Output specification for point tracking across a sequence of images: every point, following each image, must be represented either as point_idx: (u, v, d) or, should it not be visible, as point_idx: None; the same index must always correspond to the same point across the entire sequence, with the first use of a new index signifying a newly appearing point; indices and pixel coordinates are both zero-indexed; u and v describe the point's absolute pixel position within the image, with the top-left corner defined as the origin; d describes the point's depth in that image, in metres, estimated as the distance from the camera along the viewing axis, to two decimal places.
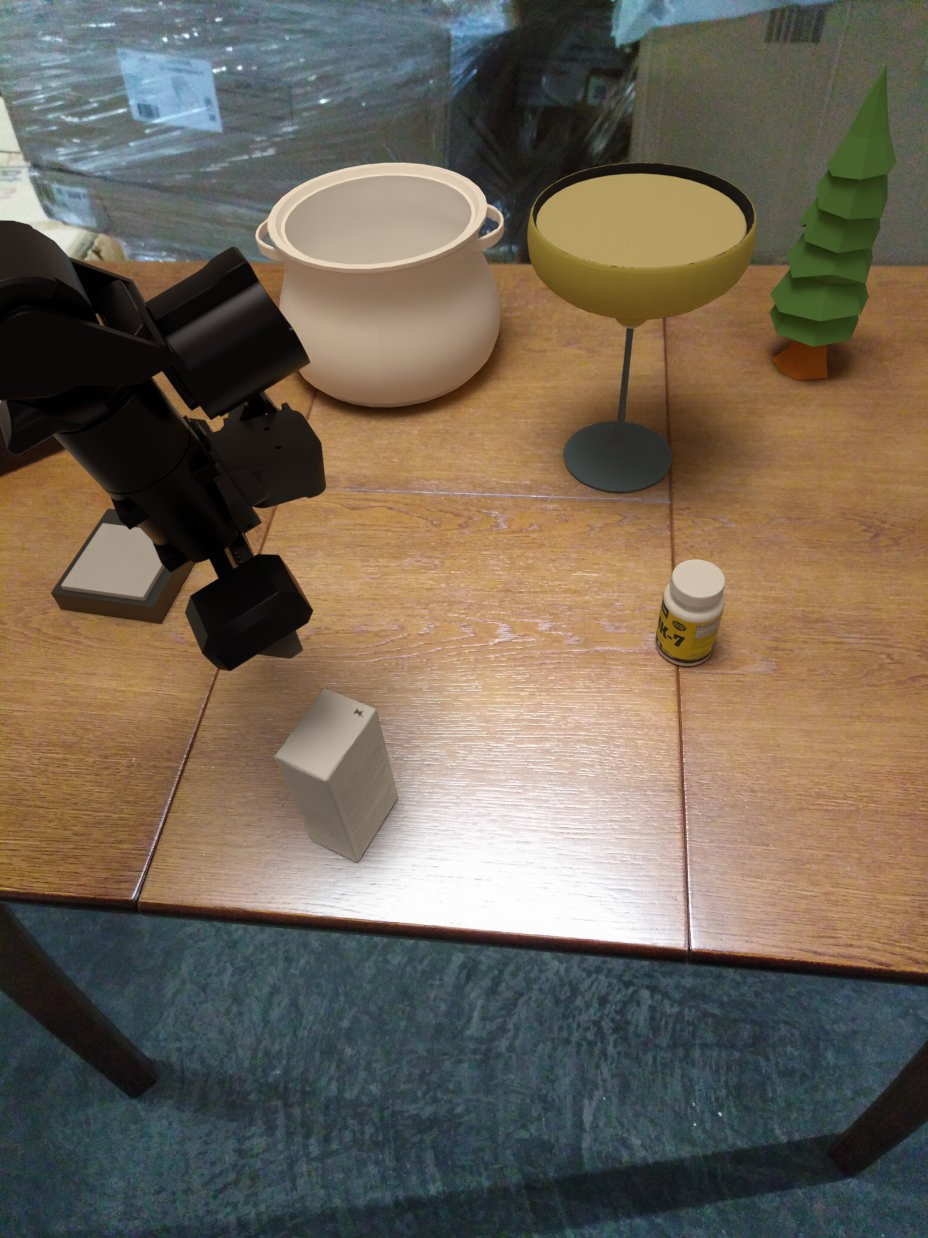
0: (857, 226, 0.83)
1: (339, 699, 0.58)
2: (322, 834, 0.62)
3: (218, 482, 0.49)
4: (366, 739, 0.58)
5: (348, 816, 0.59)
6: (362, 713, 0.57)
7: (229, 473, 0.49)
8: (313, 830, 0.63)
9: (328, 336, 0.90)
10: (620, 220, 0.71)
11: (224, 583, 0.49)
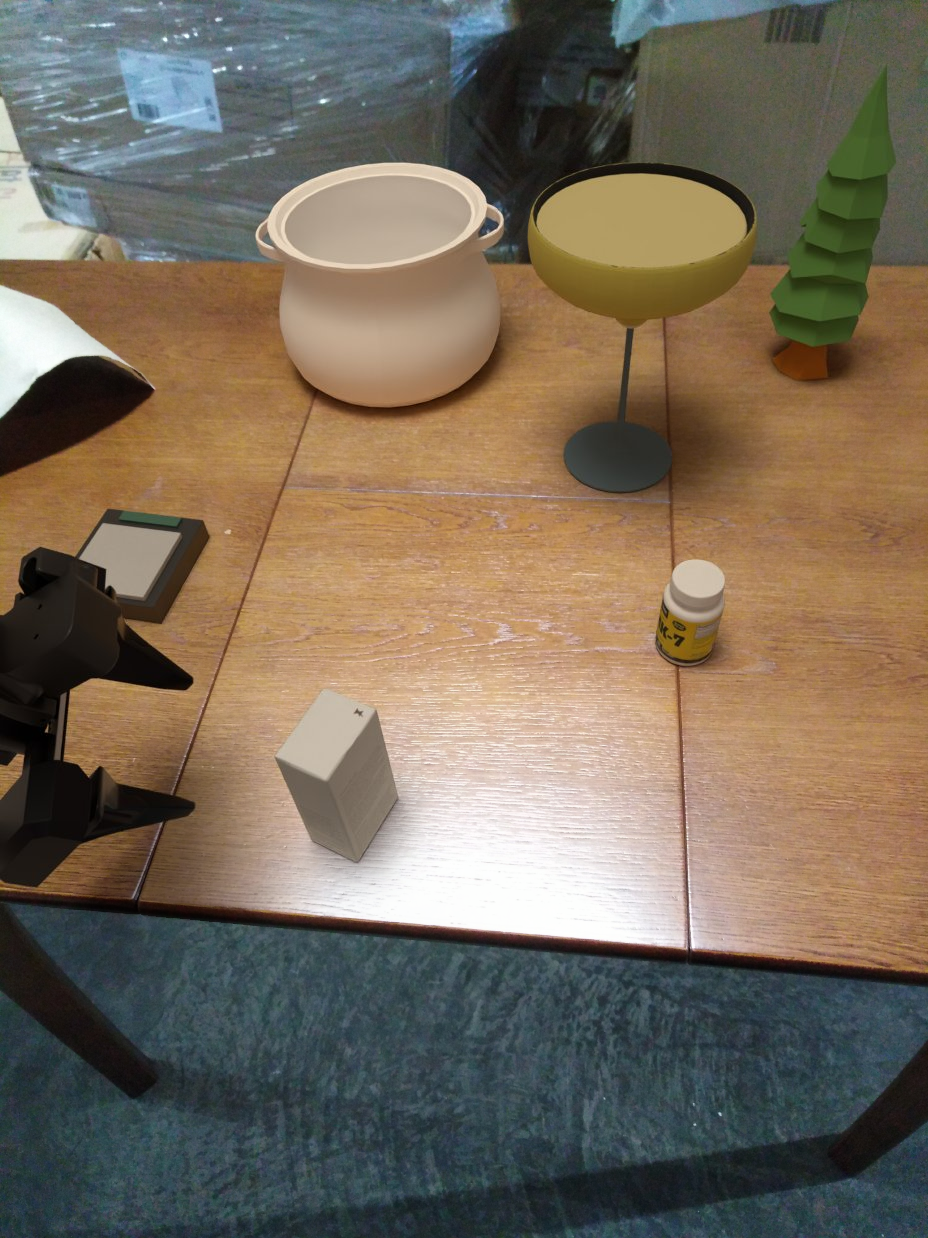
0: (857, 226, 0.83)
1: (339, 699, 0.58)
2: (322, 834, 0.62)
3: None
4: (366, 739, 0.58)
5: (348, 816, 0.59)
6: (362, 713, 0.57)
7: None
8: (313, 830, 0.63)
9: (328, 336, 0.90)
10: (620, 220, 0.71)
11: (8, 798, 0.45)
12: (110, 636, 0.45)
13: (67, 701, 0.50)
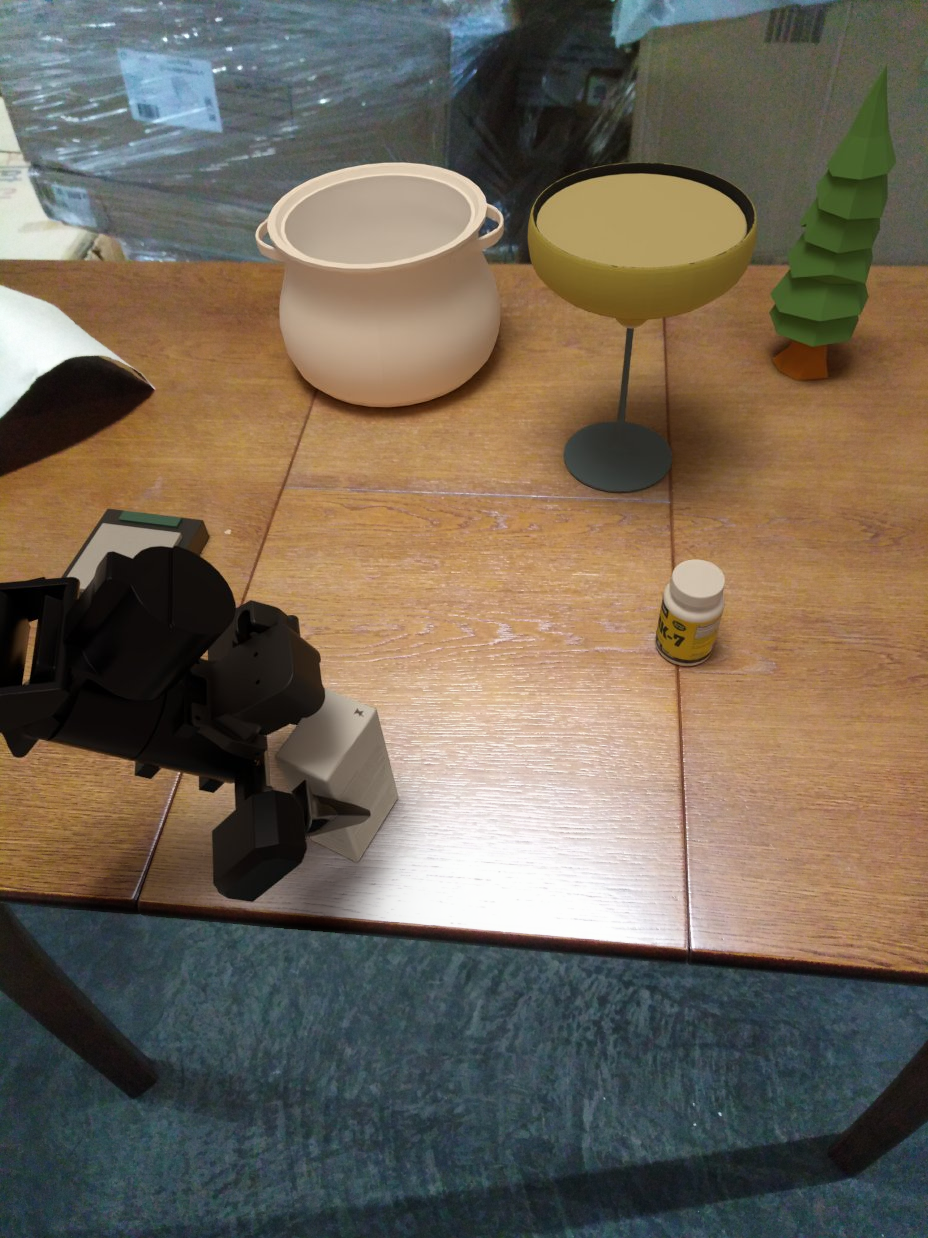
0: (857, 226, 0.83)
1: (339, 699, 0.58)
2: (322, 834, 0.62)
3: (203, 733, 0.50)
4: (366, 739, 0.58)
5: None
6: (362, 713, 0.57)
7: (213, 720, 0.50)
8: None
9: (328, 336, 0.90)
10: (620, 220, 0.71)
11: (230, 824, 0.51)
12: (317, 680, 0.51)
13: None
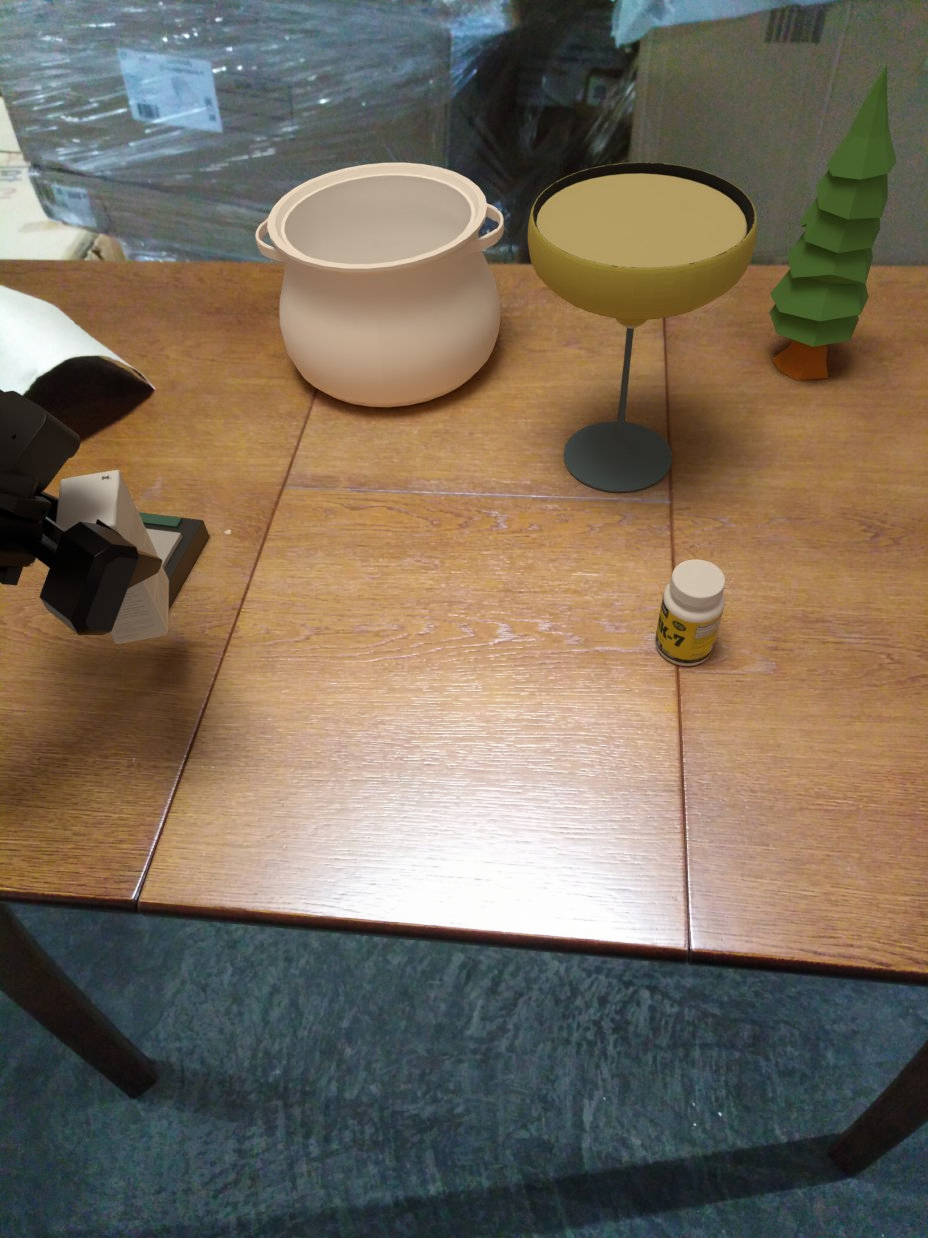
0: (857, 226, 0.83)
1: (81, 478, 0.63)
2: (125, 620, 0.67)
3: None
4: (124, 497, 0.63)
5: None
6: (109, 476, 0.63)
7: None
8: (115, 623, 0.67)
9: (328, 336, 0.90)
10: (620, 220, 0.71)
11: (55, 572, 0.55)
12: None
13: None
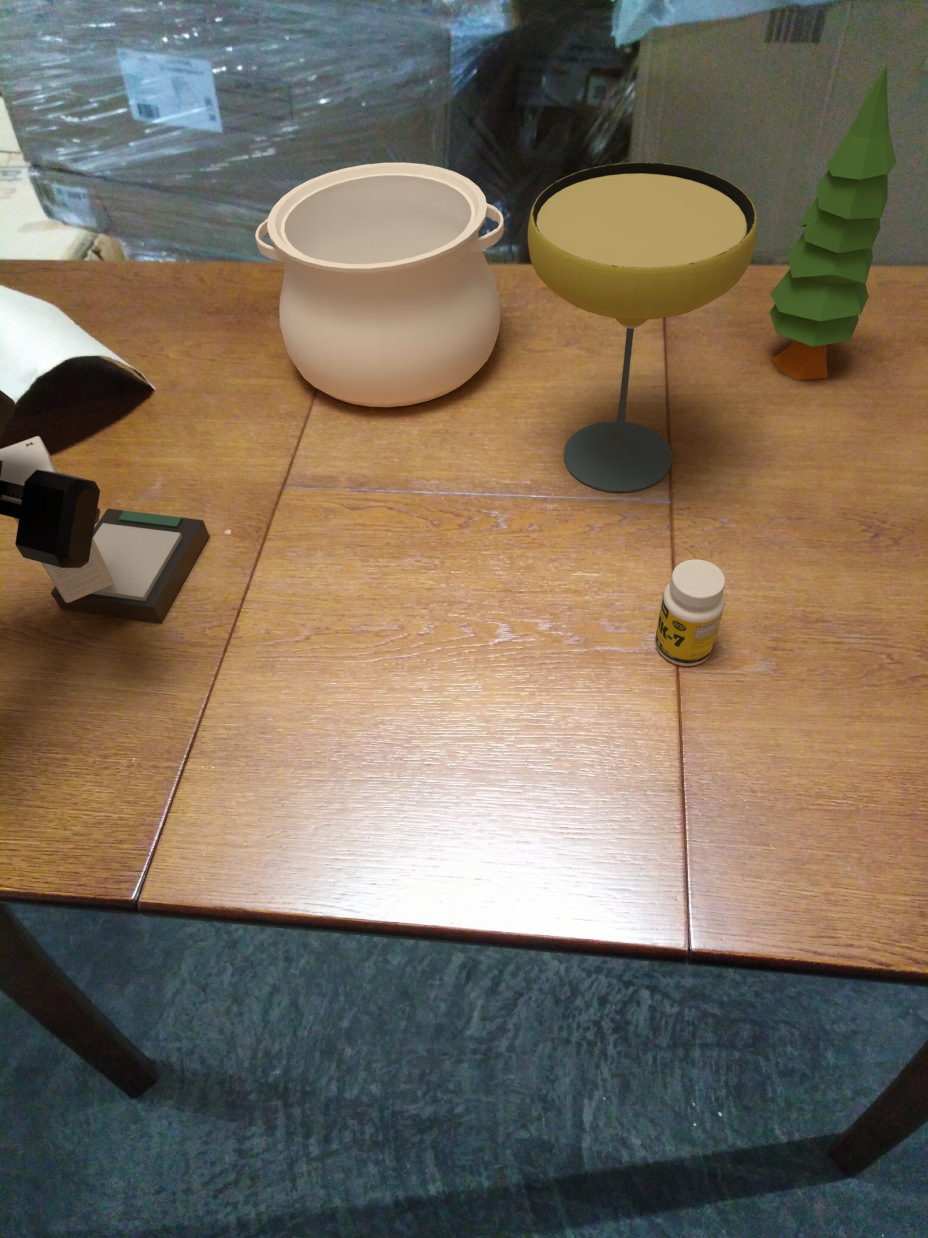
0: (857, 226, 0.83)
1: (6, 449, 0.68)
2: (74, 575, 0.72)
3: None
4: (51, 459, 0.69)
5: None
6: (32, 442, 0.69)
7: None
8: (65, 580, 0.72)
9: (328, 336, 0.90)
10: (620, 220, 0.71)
11: (26, 517, 0.61)
12: None
13: None
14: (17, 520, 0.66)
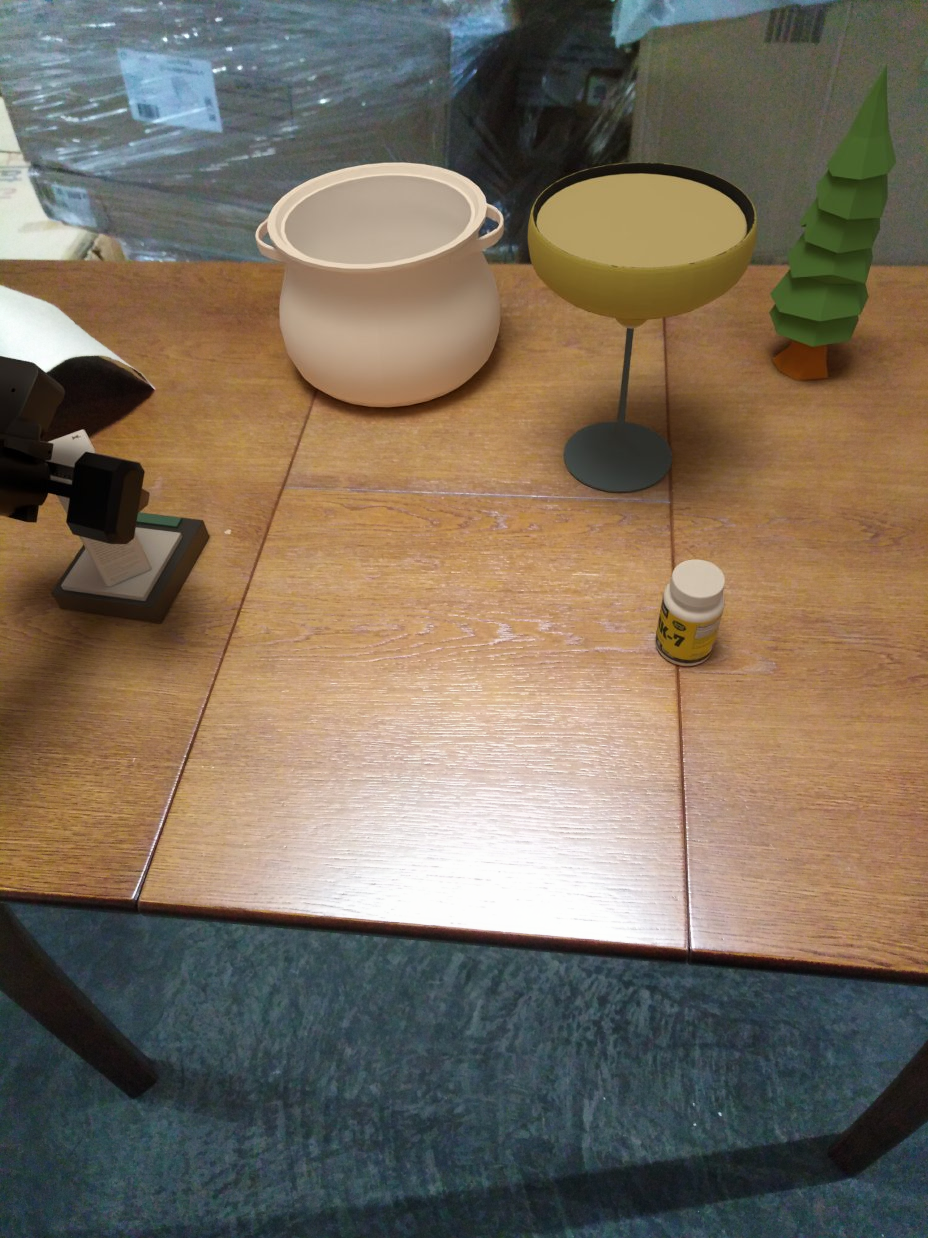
0: (857, 226, 0.83)
1: (54, 441, 0.72)
2: (115, 560, 0.77)
3: (8, 444, 0.62)
4: None
5: None
6: (78, 435, 0.73)
7: (7, 433, 0.62)
8: (107, 565, 0.77)
9: (328, 336, 0.90)
10: (620, 220, 0.71)
11: (77, 496, 0.65)
12: None
13: None
14: (65, 508, 0.71)
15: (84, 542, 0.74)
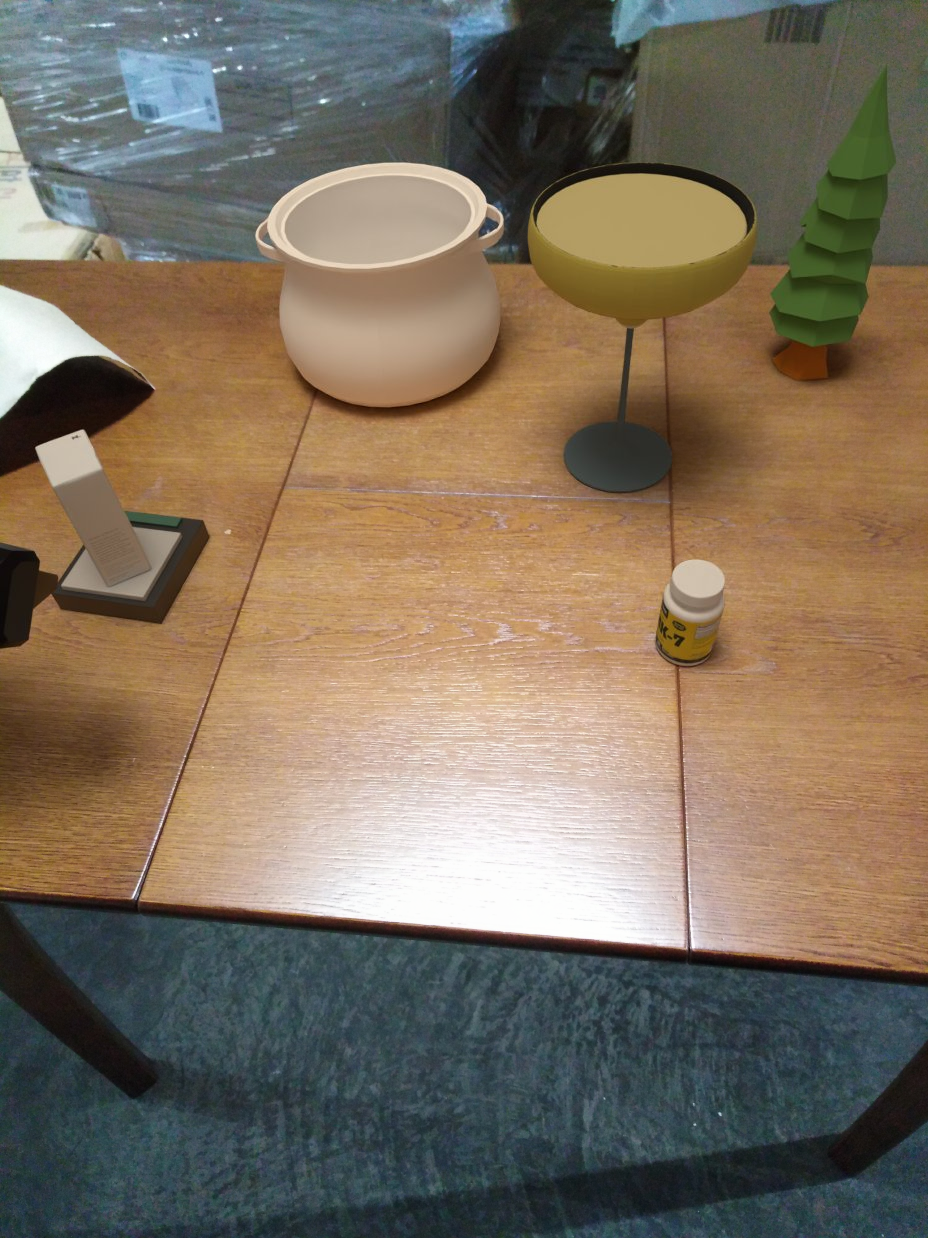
0: (857, 226, 0.83)
1: (53, 442, 0.72)
2: (115, 560, 0.77)
3: None
4: None
5: (126, 515, 0.75)
6: (78, 435, 0.73)
7: None
8: (107, 565, 0.77)
9: (328, 336, 0.90)
10: (620, 220, 0.71)
11: None
12: None
13: None
14: (65, 508, 0.71)
15: (84, 542, 0.74)
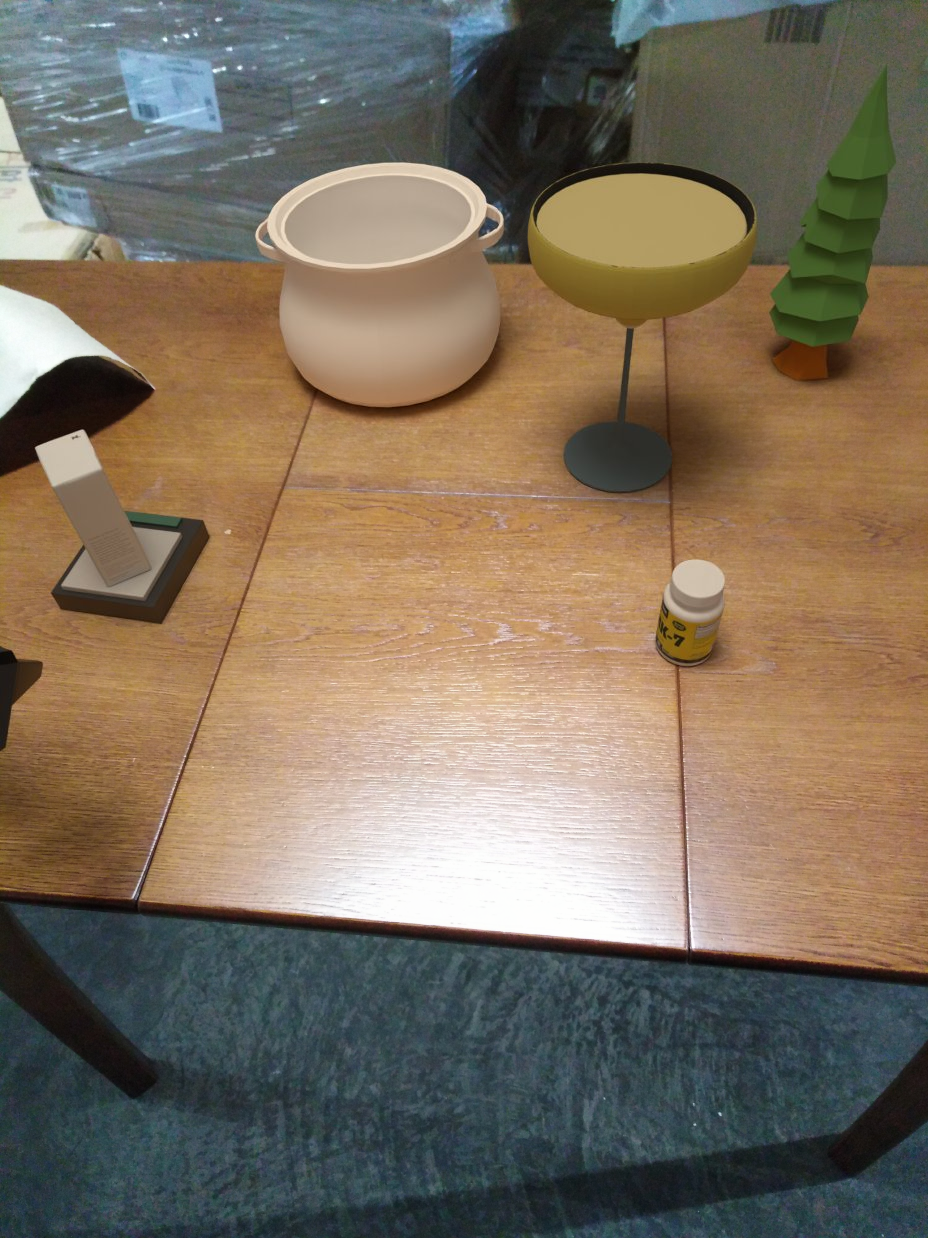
0: (857, 226, 0.83)
1: (53, 442, 0.72)
2: (115, 560, 0.77)
3: None
4: None
5: None
6: (77, 435, 0.73)
7: None
8: (107, 565, 0.77)
9: (328, 336, 0.90)
10: (620, 220, 0.71)
11: None
12: None
13: None
14: (65, 508, 0.71)
15: (84, 542, 0.74)
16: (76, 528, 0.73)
